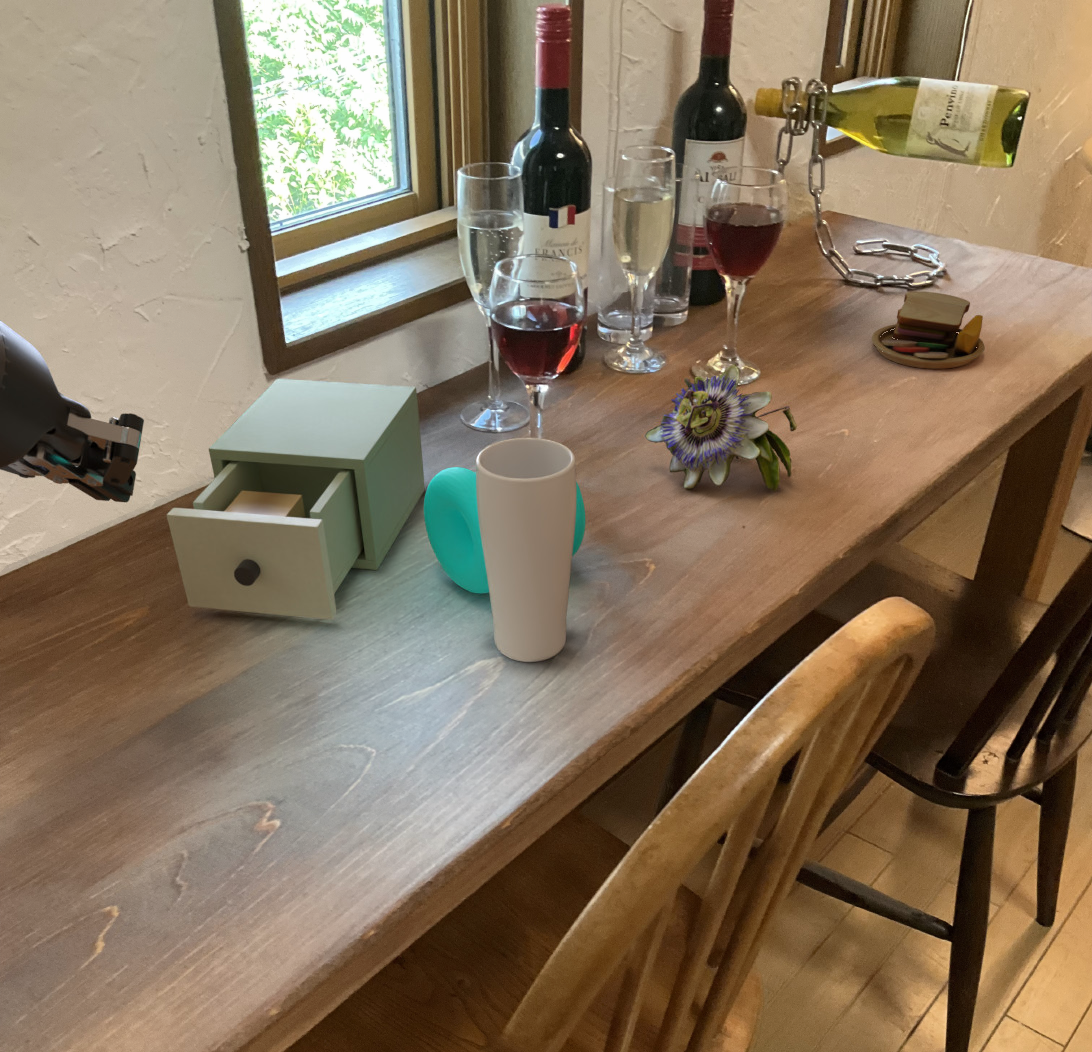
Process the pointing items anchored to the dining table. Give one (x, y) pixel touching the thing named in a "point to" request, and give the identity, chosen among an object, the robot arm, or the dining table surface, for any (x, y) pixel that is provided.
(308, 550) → the drawer
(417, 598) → the dining table surface
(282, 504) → the block
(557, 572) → the drinking glass
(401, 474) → the cabinet
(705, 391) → the passion flower
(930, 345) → the toy sandwich meal
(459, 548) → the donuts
